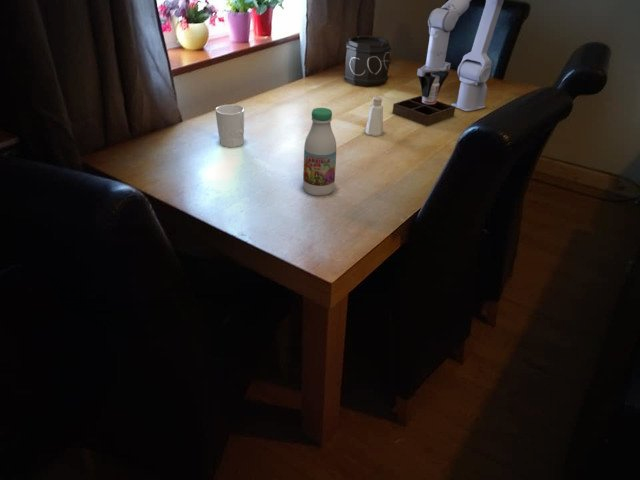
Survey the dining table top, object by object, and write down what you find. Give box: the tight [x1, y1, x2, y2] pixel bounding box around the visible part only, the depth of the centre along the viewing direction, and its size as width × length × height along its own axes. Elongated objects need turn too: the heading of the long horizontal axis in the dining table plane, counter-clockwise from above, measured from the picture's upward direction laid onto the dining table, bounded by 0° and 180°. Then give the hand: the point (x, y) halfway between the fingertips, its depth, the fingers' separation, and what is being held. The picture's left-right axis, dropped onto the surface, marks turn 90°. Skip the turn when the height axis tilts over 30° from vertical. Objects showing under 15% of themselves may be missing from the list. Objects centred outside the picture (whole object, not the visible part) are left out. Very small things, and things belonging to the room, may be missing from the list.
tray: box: [392, 95, 456, 127], centre depth 171 cm, size 15×15×3 cm
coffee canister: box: [344, 35, 392, 88], centre depth 198 cm, size 18×18×16 cm
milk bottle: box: [302, 107, 337, 196], centre depth 119 cm, size 8×8×20 cm
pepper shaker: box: [364, 96, 384, 137], centre depth 154 cm, size 5×5×11 cm
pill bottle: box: [422, 74, 440, 104], centre depth 162 cm, size 5×5×8 cm
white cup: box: [215, 104, 245, 148], centre depth 144 cm, size 8×8×10 cm
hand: (430, 95), depth 163 cm, fingers closed on pill bottle, 5 cm apart
